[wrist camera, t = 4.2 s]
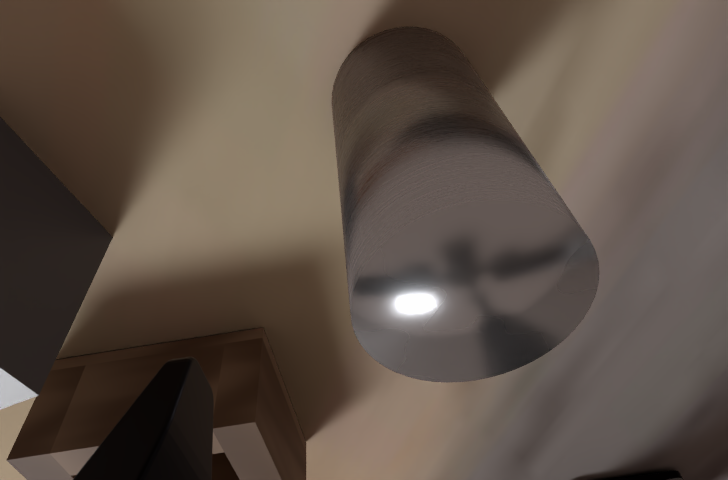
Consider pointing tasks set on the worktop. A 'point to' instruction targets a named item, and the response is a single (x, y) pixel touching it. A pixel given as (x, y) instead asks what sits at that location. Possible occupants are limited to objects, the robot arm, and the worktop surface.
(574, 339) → the worktop surface
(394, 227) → the grey cylinder
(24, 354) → the grey cube
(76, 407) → the socket block
